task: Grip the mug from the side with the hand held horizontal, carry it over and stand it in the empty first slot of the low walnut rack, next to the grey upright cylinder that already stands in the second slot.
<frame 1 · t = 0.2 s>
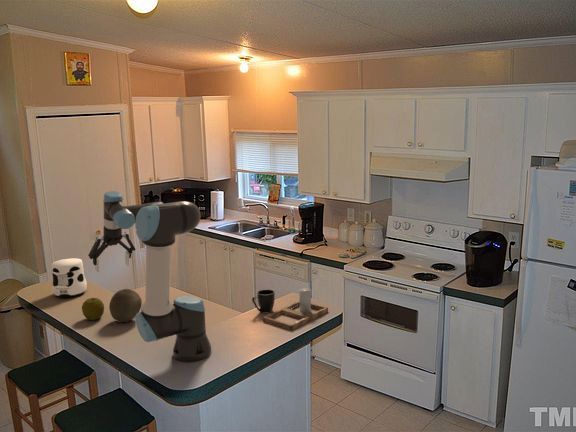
hand: (112, 267, 236), 28 cm above the counter, tool tilted 20°, fingers open, 13 cm apart
grey upright cylinder: (305, 311, 251), resting in rack
mug: (263, 312, 253), on the counter
milk container: (70, 294, 286), on the counter
apple: (94, 319, 250), on the counter
cantaloupe: (127, 321, 247), on the counter
rack: (296, 316, 246), on the counter
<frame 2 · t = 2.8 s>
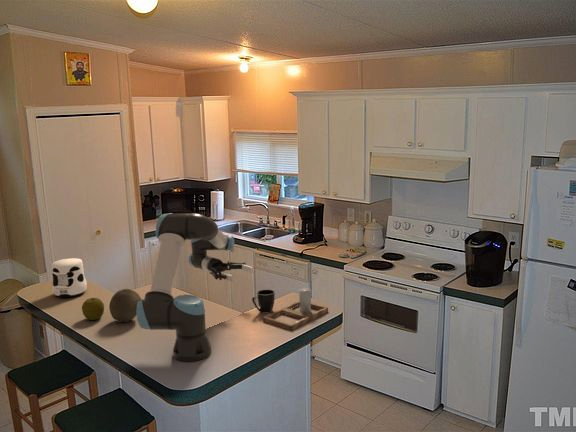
hand: (242, 274, 255), 17 cm above the counter, tool horizontal, fingers open, 13 cm apart
nothing on the counter moved.
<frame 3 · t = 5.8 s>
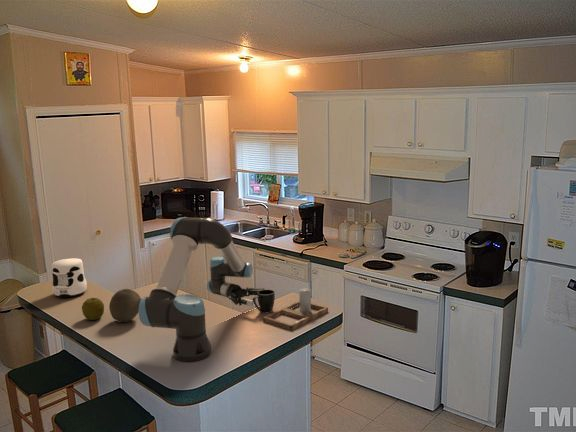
hand: (262, 299, 253), 6 cm above the counter, tool horizontal, fingers open, 13 cm apart
mug: (263, 312, 253), on the counter, touching gripper
everything else where it was.
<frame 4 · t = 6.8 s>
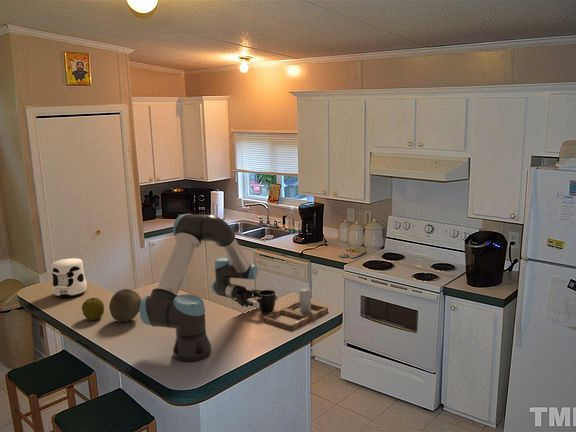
hand: (268, 301, 249), 6 cm above the counter, tool horizontal, fingers open, 12 cm apart
mug: (265, 312, 252), on the counter, touching gripper
everything else where it was.
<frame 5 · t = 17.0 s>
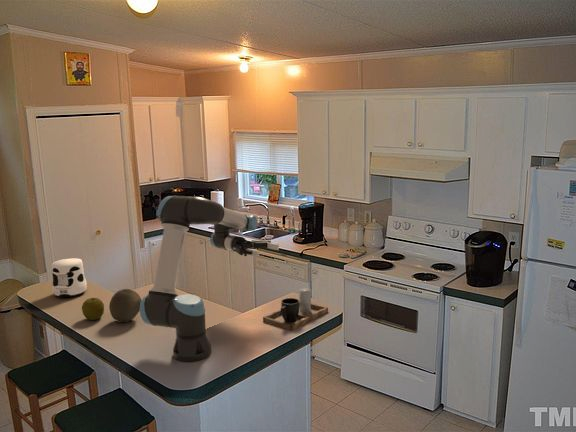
hand: (268, 250, 241), 32 cm above the counter, tool horizontal, fingers open, 13 cm apart
mug: (288, 322, 240), resting in rack
everything else where it was.
at the end: mug inside the target area (1.5 cm from its centre), resting in rack; mug tilted 0°; grey upright cylinder moved 0.0 cm from its start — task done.
